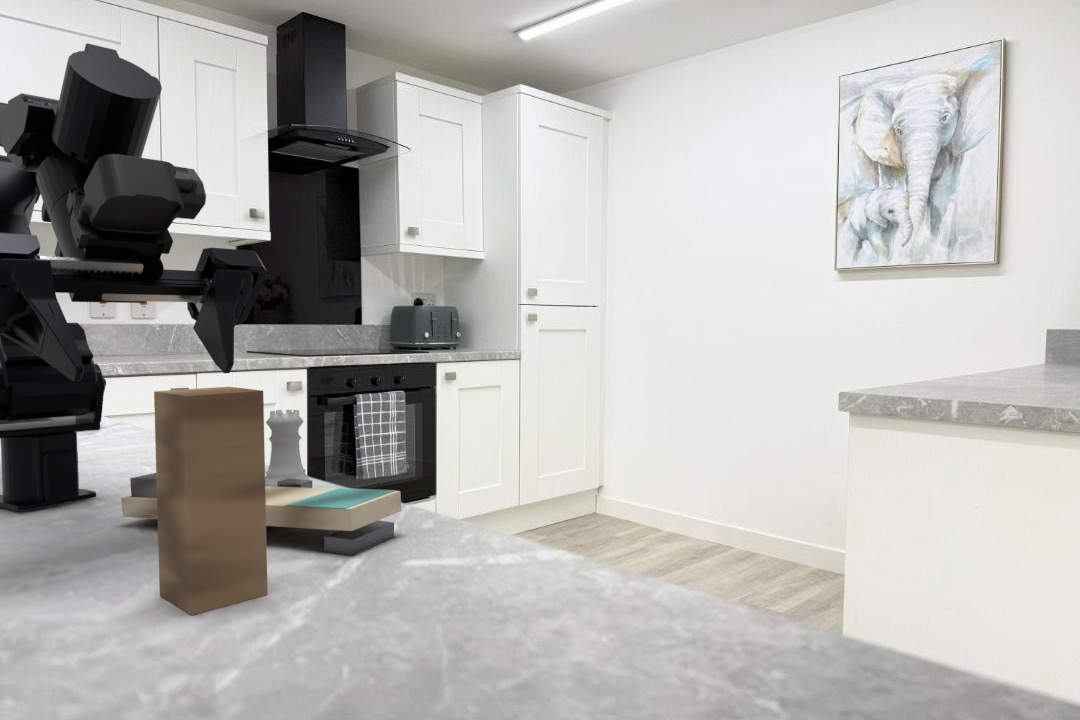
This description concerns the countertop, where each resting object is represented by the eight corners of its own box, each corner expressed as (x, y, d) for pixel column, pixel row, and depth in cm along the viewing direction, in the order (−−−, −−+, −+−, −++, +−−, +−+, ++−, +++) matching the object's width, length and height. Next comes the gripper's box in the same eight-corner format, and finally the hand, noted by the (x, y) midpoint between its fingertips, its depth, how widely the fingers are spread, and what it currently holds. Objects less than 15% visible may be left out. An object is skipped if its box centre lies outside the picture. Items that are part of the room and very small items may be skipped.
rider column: (159, 596, 45) (154, 391, 44) (233, 577, 48) (228, 386, 47) (191, 615, 42) (185, 396, 41) (267, 594, 45) (263, 390, 44)
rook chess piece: (296, 505, 67) (294, 414, 67) (250, 503, 68) (248, 413, 68) (320, 494, 71) (319, 408, 71) (277, 492, 72) (275, 407, 72)
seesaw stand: (195, 545, 55) (194, 504, 55) (289, 513, 64) (289, 478, 64) (330, 565, 50) (329, 520, 50) (411, 528, 59) (411, 489, 59)
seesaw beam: (123, 526, 60) (119, 479, 60) (185, 509, 66) (182, 465, 66) (352, 542, 52) (349, 486, 52) (402, 520, 57) (399, 471, 57)
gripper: (-50, 94, 45) (5, 271, 38) (252, 146, 59) (333, 284, 52) (-70, 239, 51) (-25, 416, 44) (210, 256, 65) (278, 394, 58)
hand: (159, 372), depth 49 cm, fingers open, 9 cm apart
